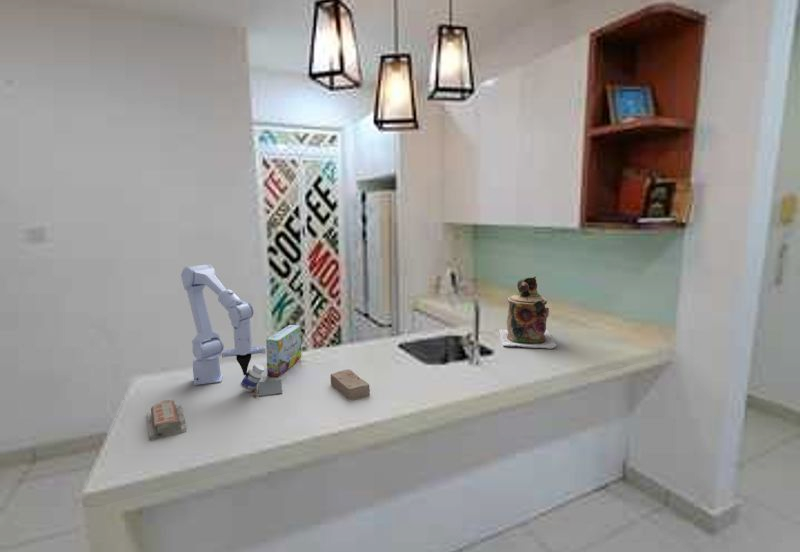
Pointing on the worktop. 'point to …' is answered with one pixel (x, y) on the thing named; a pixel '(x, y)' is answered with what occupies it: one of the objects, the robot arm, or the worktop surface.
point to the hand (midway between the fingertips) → (245, 374)
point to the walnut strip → (255, 392)
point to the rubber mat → (270, 388)
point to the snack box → (283, 350)
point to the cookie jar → (527, 318)
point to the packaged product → (165, 420)
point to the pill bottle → (252, 378)
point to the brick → (350, 384)
